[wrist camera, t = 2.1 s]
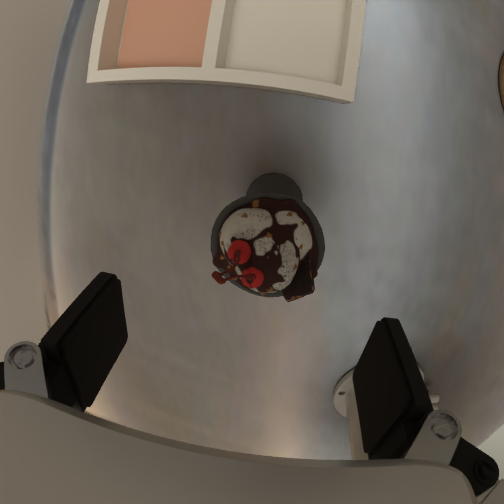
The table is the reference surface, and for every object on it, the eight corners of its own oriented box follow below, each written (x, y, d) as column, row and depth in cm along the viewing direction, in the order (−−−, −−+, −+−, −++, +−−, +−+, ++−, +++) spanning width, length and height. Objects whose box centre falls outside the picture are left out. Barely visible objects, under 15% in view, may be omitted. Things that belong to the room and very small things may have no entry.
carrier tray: (357, -8, 18) (367, -24, 14) (343, 103, 23) (353, 101, 19) (127, -17, 19) (107, -29, 15) (110, 84, 24) (86, 83, 20)
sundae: (227, 173, 26) (164, 241, 13) (303, 156, 25) (324, 208, 12) (245, 241, 29) (210, 356, 16) (317, 228, 28) (341, 339, 14)
